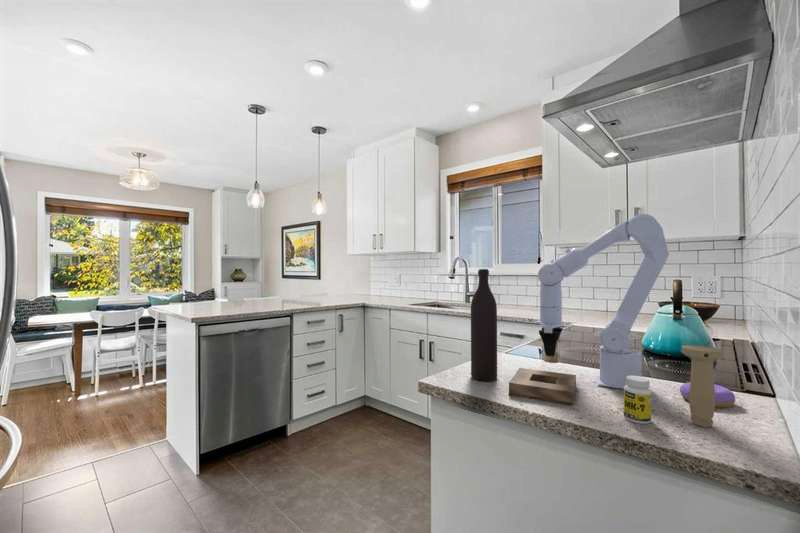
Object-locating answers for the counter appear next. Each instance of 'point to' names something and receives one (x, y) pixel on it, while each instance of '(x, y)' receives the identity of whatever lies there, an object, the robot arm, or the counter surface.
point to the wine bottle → (483, 331)
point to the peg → (550, 358)
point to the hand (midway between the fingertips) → (550, 354)
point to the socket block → (543, 386)
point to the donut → (721, 395)
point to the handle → (702, 383)
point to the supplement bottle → (637, 400)
